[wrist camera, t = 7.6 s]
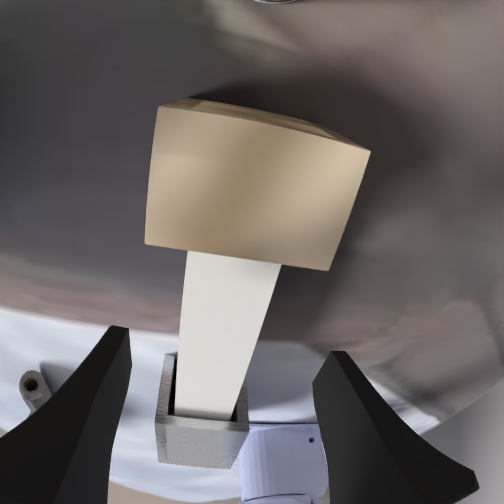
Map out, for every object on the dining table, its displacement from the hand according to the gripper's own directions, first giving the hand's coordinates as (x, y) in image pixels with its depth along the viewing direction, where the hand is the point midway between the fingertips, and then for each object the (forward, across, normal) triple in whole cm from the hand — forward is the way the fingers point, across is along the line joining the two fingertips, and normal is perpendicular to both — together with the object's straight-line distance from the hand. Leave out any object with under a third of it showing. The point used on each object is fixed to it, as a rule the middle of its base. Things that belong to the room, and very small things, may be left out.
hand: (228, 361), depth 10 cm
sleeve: (+9, 0, +16) cm, 18 cm away
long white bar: (+9, 0, +4) cm, 10 cm away
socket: (+9, 0, -5) cm, 11 cm away
